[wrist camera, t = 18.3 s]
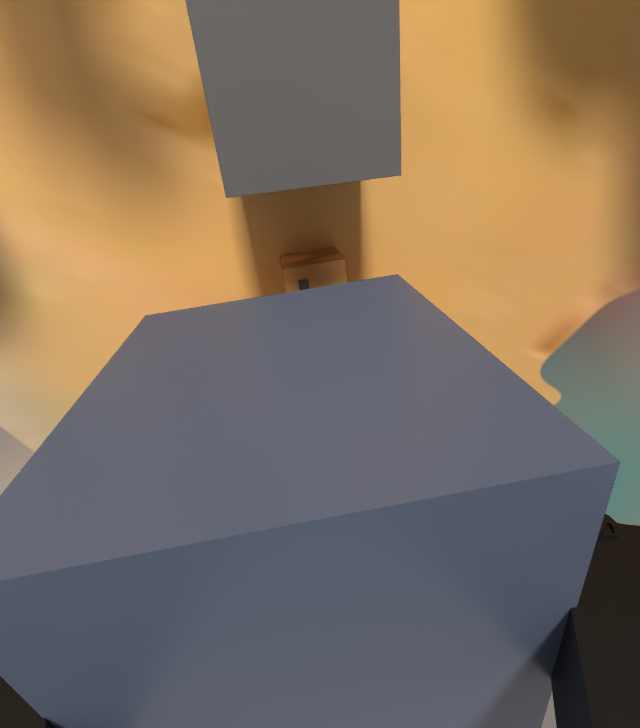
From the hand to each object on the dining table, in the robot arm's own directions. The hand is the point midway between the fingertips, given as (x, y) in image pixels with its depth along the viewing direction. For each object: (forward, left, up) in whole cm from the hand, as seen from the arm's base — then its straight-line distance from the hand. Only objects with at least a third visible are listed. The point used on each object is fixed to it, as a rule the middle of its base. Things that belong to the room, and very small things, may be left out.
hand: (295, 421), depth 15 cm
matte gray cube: (-3, -12, -20) cm, 23 cm away
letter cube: (-3, 0, -20) cm, 20 cm away
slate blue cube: (0, 0, -1) cm, 1 cm away
